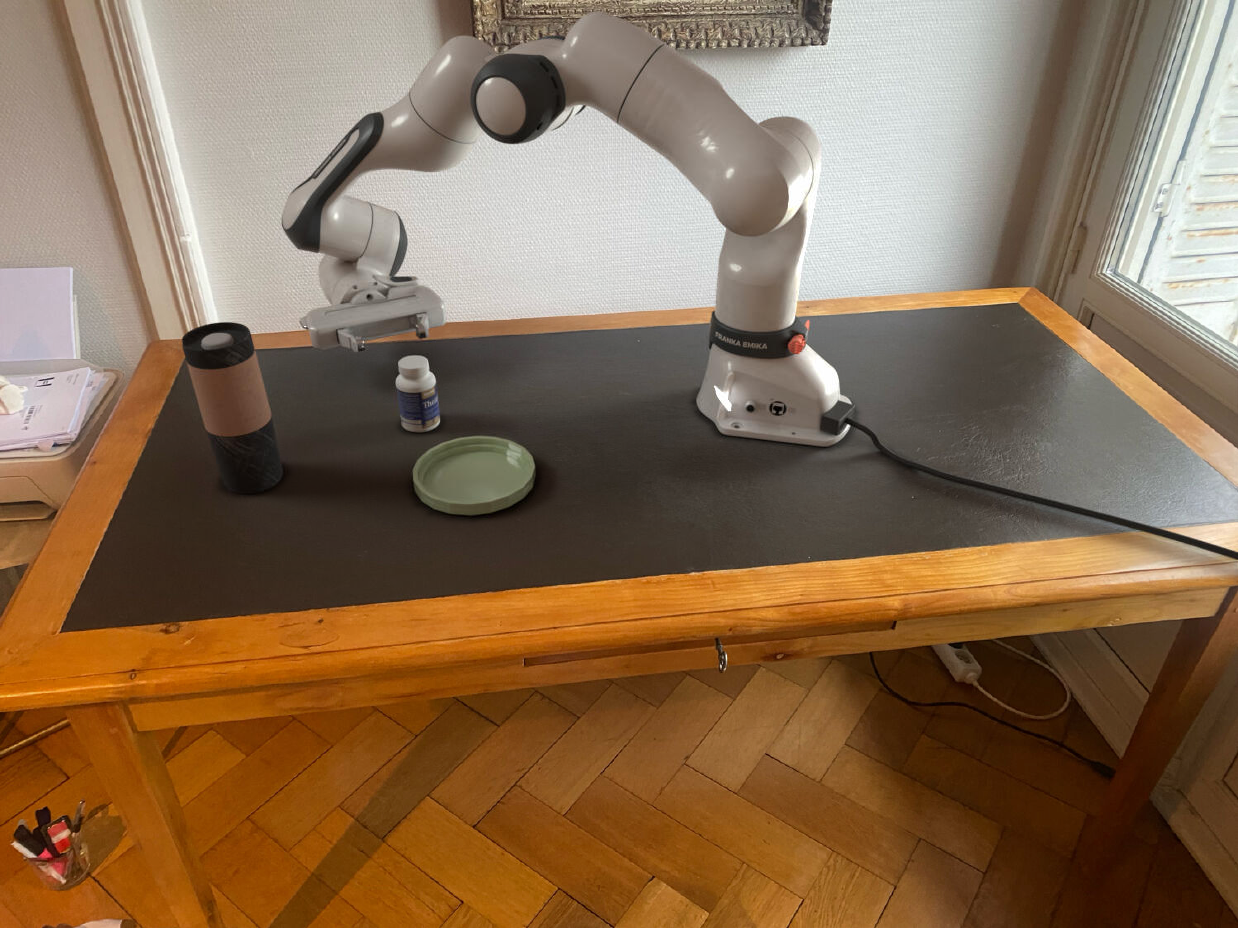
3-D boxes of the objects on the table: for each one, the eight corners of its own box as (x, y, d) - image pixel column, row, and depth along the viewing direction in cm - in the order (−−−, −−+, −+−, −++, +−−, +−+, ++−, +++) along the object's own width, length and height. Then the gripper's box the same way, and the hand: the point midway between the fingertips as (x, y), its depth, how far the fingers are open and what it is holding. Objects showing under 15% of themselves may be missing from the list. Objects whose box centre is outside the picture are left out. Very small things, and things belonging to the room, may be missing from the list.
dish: (555, 464, 116) (554, 451, 115) (497, 529, 105) (496, 516, 104) (455, 438, 121) (454, 426, 120) (390, 498, 110) (388, 485, 108)
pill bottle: (432, 435, 122) (424, 373, 116) (395, 431, 123) (386, 368, 117) (446, 416, 126) (439, 354, 121) (410, 412, 127) (402, 351, 122)
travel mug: (297, 468, 115) (264, 327, 104) (259, 500, 109) (220, 355, 98) (248, 456, 117) (211, 317, 106) (208, 488, 111) (164, 344, 100)
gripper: (292, 297, 130) (314, 334, 120) (426, 274, 139) (457, 306, 129) (300, 336, 134) (322, 375, 124) (430, 311, 142) (460, 345, 132)
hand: (392, 340), depth 126 cm, fingers open, 8 cm apart
